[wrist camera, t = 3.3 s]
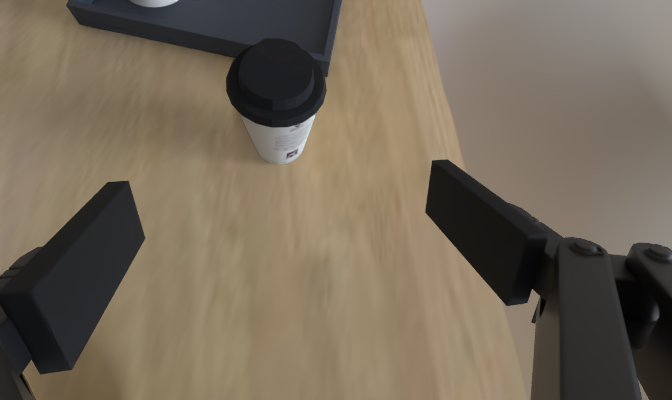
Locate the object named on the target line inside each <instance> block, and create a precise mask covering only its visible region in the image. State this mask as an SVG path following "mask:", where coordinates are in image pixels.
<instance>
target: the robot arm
mask: <svg viewBox="0 0 672 400" xmlns="http://www.w3.org/2000/svg"><path fill="white" fill-rule="evenodd" d="M425 212H426V214H427V215H428V216H429V217H430V218H431V219H432V221H433V222H434V223H435V224H436V225H437V226H438V227H439V229H440V230H441V231H442V232H443V233H444V234H445V235H446V237H447V238H448V239H449V240H450V241H451V242H452V244H453V245H454V246H455V247H456V248H457V249H458V250H459V252H460V253H461V254H462V255H463V256H464V257H465V258H466V260H467V261H468V262H469V263H470V264H471V265H472V267H473V268H474V269H475V270H476V271H477V272H478V273H479V275H480V276H481V277H482V278H483V279H484V280H485V281H486V283H487V284H488V285H489V286H490V287H491V288H492V290H493V291H494V292H495V293H496V294H497V295H498V296H499V298H500V299H501V300H502V301H503V302H504V303H505V304H506V306H510V305H517V304H524V303H527V302H528V299H529V296H530V293H531V290H532V289H533V290H534V291H535V292H536V293H538V294H539V295H540V299H539V301H538V304H537V307H536V310H535V313H534V316H533V319H532V323H536V329H535V344H534V359H533V373H532V387H531V400H642V397H641V392H640V388H639V383H638V380H639V382H640V384H641V385H642V387H643V389H644V391H645V392H646V394H647V396H648V398H649V400H672V250H670V249H669V248H667V247H662V246H661V245H657V244H650V243H637V244H633V246H632V247H631V249H630V251H629V254H628V255H627V256H621V255H611V254H608V253H607V251H606V250H605V249H604V248H602V247H601V246H600V245H597V244H595V243H593V242H591V241H587V240H585V239H581V238H574V237H568V238H563V237H562V236H560V235H559V234H557V233H556V232H555V231H553V230H552V229H550V228H549V227H548V226H546V225H545V224H543V223H542V222H539V220H538V219H536V218H535V217H533V216H531V215H530V214H529V213H528V212H526V211H525V210H523V209H522V208H520V207H517V206H515V205H513V204H510V203H507V202H505V201H504V200H503V199H501V198H500V197H499V196H497V195H496V194H494V193H493V192H491V191H490V190H489V189H487V188H486V187H485V186H483V185H482V184H480V183H479V182H478V181H476V180H475V179H474V178H472V177H471V176H470V175H468V174H467V173H465V172H464V171H463V170H461V169H460V168H459V167H457V166H456V165H454V164H453V163H452V162H450V161H449V160H433V161H432V166H431V174H430V181H429V189H428V196H427V204H426V211H425ZM144 240H145V236H144V232H143V229H142V226H141V222H140V219H139V215H138V212H137V208H136V205H135V202H134V198H133V195H132V191H131V188H130V184H129V181H118V182H107V183H106V184H105V185H104V186H103V187H102V188H101V189H100V190H99V191H98V192H97V193H96V194H95V195H94V196H93V197H92V198H91V199H90V200H89V201H88V202H87V203H86V204H85V205H84V206H83V207H82V208H81V209H80V210H79V211H78V212H77V213H76V214H75V215H74V216H73V217H72V218H71V219H70V220H69V221H68V222H67V223H66V224H65V225H64V226H63V227H62V228H61V229H60V230H59V231H58V232H57V233H56V234H55V235H54V236H53V237H52V238H51V239H50V240H49V241H48V242H47V243H46V244H45V245H44V246H43V247H37V248H35V249H34V250H32V251H30V252H28V253H27V254H25V255H23V256H22V257H20V258H19V259H18V260H17V261H16V262H15V263H14V264H13V265H12V266H11V267H10V268H9V270H6V271H5V272H4V273H3V274H2V275H1V276H0V400H36V399H35V397H34V395H33V393H32V391H31V388H30V386H29V384H28V382H27V380H26V379H25V377H24V375H23V374H22V372H23V371H24V369H25V368H26V366H27V365H28V363H29V362H30V361H31V359H32V361H33V363H34V365H35V366H36V368H37V370H38V372H39V373H40V374H46V373H53V372H60V371H67V370H72V368H73V367H74V365H75V363H76V361H77V360H78V358H79V356H80V354H81V352H82V351H83V349H84V347H85V345H86V343H87V342H88V340H89V338H90V336H91V334H92V333H93V331H94V329H95V327H96V325H97V324H98V322H99V320H100V318H101V317H102V315H103V313H104V311H105V309H106V308H107V306H108V304H109V302H110V300H111V299H112V297H113V295H114V293H115V291H116V290H117V288H118V286H119V284H120V283H121V281H122V279H123V277H124V275H125V274H126V272H127V270H128V268H129V266H130V265H131V263H132V261H133V259H134V257H135V256H136V254H137V252H138V250H139V249H140V247H141V245H142V243H143V241H144ZM637 378H638V379H637Z"/></svg>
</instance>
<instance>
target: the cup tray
mask: <svg viewBox="0 0 672 400" xmlns="http://www.w3.org/2000/svg"><path fill="white" fill-rule="evenodd" d="M341 2H342V0H179V1H177V2H175V3H173V4H171V5H168V6H163V7H144V6H140V5H137V4H134V3H132V2H130V1H129V0H69V1H68V3H67V4H66V6H67V7H68V9H69V10H70V12H71V13H72V14H73V16H74V17H75V19H76V20H77V22H78V23H79V24H81V25H85V26H90V27H95V28H99V29H104V30H109V31H114V32H118V33H123V34H128V35H132V36H137V37H142V38H147V39H151V40H156V41H161V42H165V43H170V44H175V45H179V46H184V47H189V48H194V49H198V50H203V51H208V52H212V53H217V54H222V55H226V56H231V57H237V56H238V55H239V54H240V53H241V52H242V51H243V50H245V49H247V48H249V47H250V46H252V45H254V44H257V43H259V42H260V41H262V40H263V39H264V38H281V39H285V40H288V41H291V42H295V43H297V45H298V46H299V47H300V48H301V49H303V50H305V51H307V52H308V53H309V54H310V55H311V56H312V57H313V58H314V59H315V60H316V61H317V63H318V65H319V67H320V69H321V71H322V73H323V75H324V76H325V77H327V75H328V70H329V64H330V59H331V54H332V49H333V44H334V38H335V33H336V28H337V23H338V17H339V12H340V7H341Z"/></svg>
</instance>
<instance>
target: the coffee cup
mask: <svg viewBox="0 0 672 400" xmlns="http://www.w3.org/2000/svg"><path fill="white" fill-rule="evenodd" d="M226 91H227V94H228V96H229V99H230V101H231V104H232V105H233V106H234V107H235V108H236V110H237V111H238V112H239V114H240V116H241V118H242V120H243V122H244V124H245V127H246V129H247V131H248V133H249V135H250V137H251V140H252V142H253V144H254V146H255V148H256V150H257V153H258V154H259V155H260V156H261V157H262V158H263V159H264V160H266V161H268V162H270V163H274V164H286V163H289V162H292V161H294V160H295V159H296V158H298V157H299V155H300V154H301V152H302V151H303V148H304V145H305V143H306V140H307V137H308V134H309V132H310V129H311V126H312V124H313V121H314V118H315V115H316V113H317V111H318V110H319V108H320V107H321V105H322V104H323V102H324V98H325V94H326V82H325V77H324V75H323V73H322V71H321V69H320V67H319V65H318V63H317V61H316V60H315V59H314V58H313V57H312V56H311V55H310V54H309V53H308V52H307V51H305V50H303V49H301V48H300V47H299V46H298V45H297V43H295V42H291V41H288V40H285V39H281V38H264V39H263V40H262V41H260V42H259V43H257V44H254V45H252V46H250V47H249V48H247V49H245V50H243V51H242V52H241V53H240V54H239V55H238V56H237V57H236V59H235V60H234V61H233V63H232V65H231V67H230V70H229V72H228V75H227V78H226Z"/></svg>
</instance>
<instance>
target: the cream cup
mask: <svg viewBox="0 0 672 400" xmlns="http://www.w3.org/2000/svg"><path fill="white" fill-rule="evenodd" d="M129 1H130V2H132V3H134V4H137V5H140V6H144V7H163V6H168V5H171V4H173V3H175V2H177V1H179V0H129Z"/></svg>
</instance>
